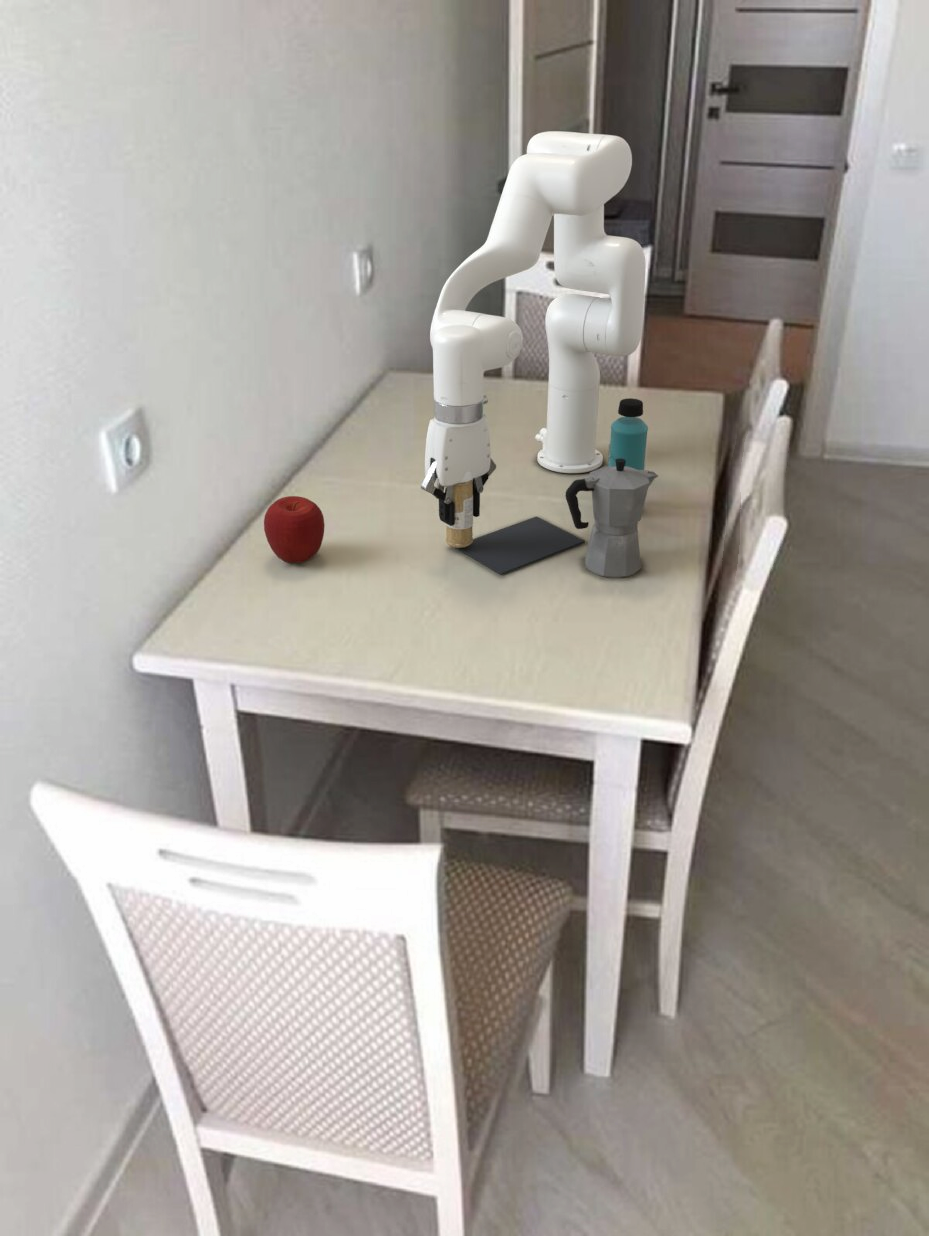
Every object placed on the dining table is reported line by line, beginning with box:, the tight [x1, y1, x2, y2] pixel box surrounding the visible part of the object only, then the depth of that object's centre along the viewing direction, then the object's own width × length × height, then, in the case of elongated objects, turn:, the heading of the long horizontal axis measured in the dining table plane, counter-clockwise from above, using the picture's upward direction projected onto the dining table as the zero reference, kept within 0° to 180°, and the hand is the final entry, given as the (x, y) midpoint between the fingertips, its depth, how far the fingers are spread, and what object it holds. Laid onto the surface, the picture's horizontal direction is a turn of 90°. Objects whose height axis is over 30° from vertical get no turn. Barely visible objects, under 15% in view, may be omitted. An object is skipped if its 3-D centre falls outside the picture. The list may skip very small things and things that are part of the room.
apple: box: [263, 495, 326, 564], centre depth 168 cm, size 10×10×10 cm
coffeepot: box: [565, 458, 659, 579], centre depth 163 cm, size 15×9×18 cm, turn 110°
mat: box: [454, 516, 586, 576], centre depth 174 cm, size 12×18×1 cm, turn 128°
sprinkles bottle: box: [445, 472, 474, 548], centre depth 169 cm, size 5×5×13 cm
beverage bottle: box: [607, 397, 649, 470], centre depth 181 cm, size 6×7×20 cm
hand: (459, 517), depth 170 cm, fingers closed on sprinkles bottle, 4 cm apart
